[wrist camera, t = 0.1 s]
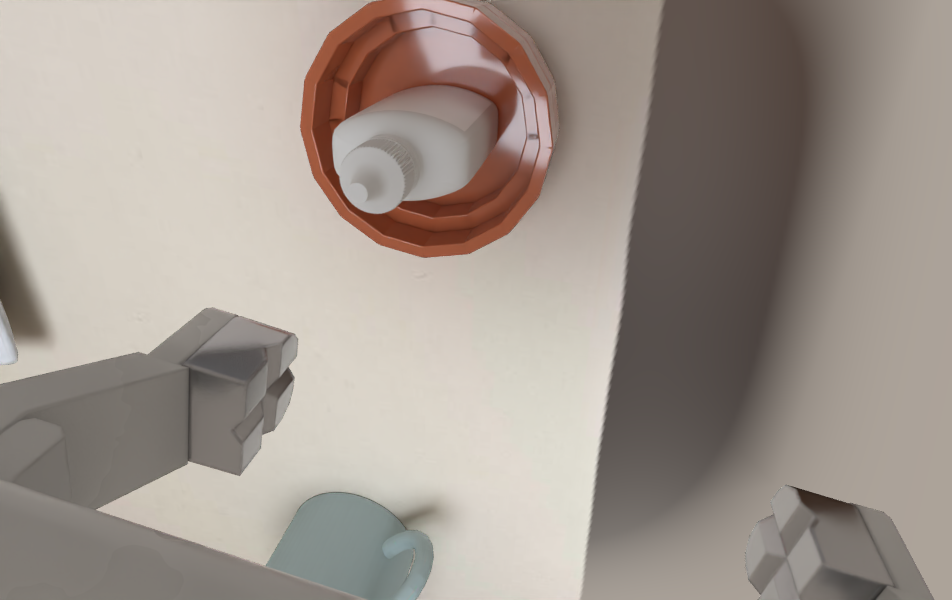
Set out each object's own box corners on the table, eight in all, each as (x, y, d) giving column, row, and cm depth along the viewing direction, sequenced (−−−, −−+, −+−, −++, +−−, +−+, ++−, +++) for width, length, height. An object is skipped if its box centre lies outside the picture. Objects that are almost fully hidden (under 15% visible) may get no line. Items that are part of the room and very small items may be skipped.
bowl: (354, -35, 29) (314, -36, 25) (589, 28, 29) (586, 36, 25) (327, 192, 35) (291, 219, 31) (524, 249, 34) (513, 284, 30)
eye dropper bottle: (414, 47, 30) (308, 85, 19) (514, 113, 30) (464, 186, 20) (374, 126, 32) (258, 199, 21) (469, 187, 32) (401, 288, 22)
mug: (348, 597, 50) (292, 729, 41) (270, 517, 47) (192, 640, 39) (488, 545, 44) (459, 685, 36) (408, 451, 42) (355, 576, 33)
